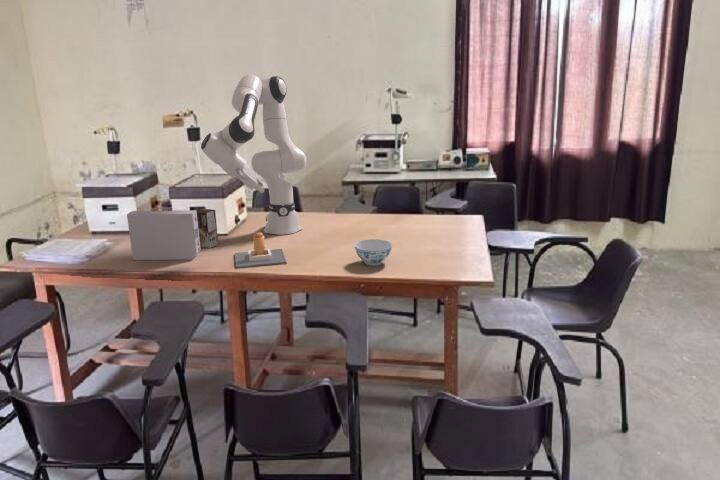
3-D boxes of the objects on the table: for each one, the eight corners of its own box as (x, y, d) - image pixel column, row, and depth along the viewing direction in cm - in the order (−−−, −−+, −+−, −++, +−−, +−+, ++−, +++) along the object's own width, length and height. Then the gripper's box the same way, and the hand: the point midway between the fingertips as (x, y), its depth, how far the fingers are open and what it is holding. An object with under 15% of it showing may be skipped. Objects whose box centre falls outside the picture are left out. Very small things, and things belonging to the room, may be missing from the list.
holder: (234, 254, 251) (234, 248, 250) (281, 250, 255) (281, 244, 255) (236, 268, 234) (235, 261, 233) (286, 263, 239) (286, 257, 238)
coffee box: (219, 244, 266) (215, 209, 262) (210, 248, 261) (206, 212, 256) (203, 242, 270) (199, 207, 265) (193, 246, 264) (190, 211, 260)
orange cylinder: (254, 255, 246) (252, 232, 243) (265, 255, 247) (263, 231, 244) (254, 259, 242) (253, 235, 239) (265, 258, 243) (264, 234, 240)
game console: (138, 256, 252) (132, 210, 246) (201, 255, 251) (196, 210, 246) (132, 260, 247) (126, 214, 241) (197, 259, 246) (192, 213, 240)
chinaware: (357, 256, 245) (356, 239, 243) (393, 257, 244) (393, 239, 242) (352, 268, 231) (352, 250, 229) (391, 269, 229) (391, 250, 227)
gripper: (242, 166, 227) (269, 189, 232) (240, 156, 245) (265, 177, 251) (231, 178, 227) (259, 201, 233) (230, 167, 246) (255, 188, 251)
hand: (262, 188), depth 242 cm, fingers open, 8 cm apart
